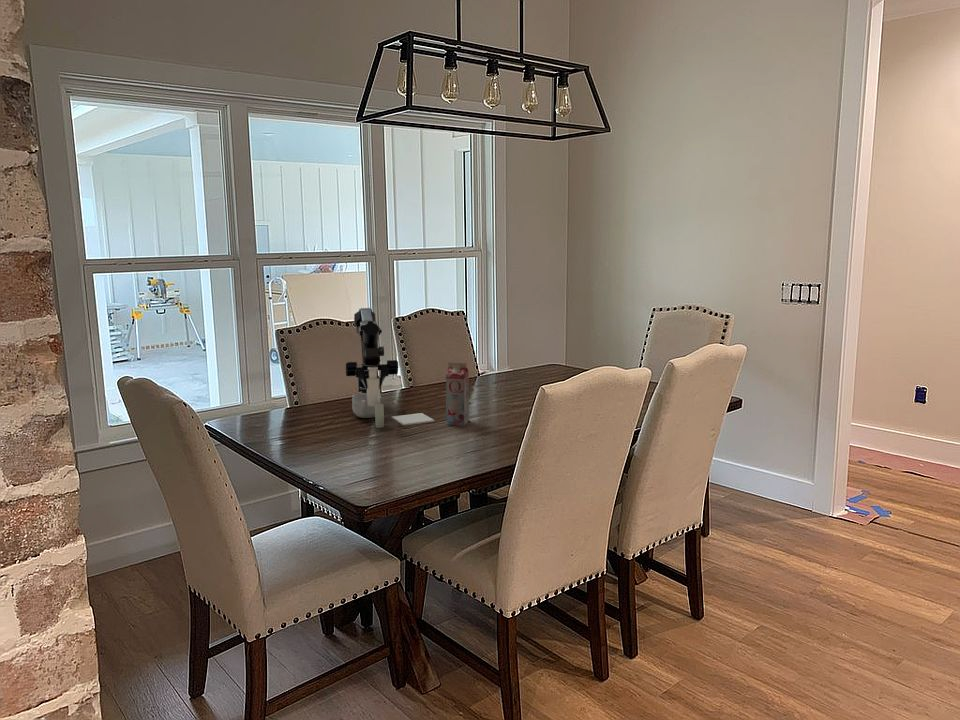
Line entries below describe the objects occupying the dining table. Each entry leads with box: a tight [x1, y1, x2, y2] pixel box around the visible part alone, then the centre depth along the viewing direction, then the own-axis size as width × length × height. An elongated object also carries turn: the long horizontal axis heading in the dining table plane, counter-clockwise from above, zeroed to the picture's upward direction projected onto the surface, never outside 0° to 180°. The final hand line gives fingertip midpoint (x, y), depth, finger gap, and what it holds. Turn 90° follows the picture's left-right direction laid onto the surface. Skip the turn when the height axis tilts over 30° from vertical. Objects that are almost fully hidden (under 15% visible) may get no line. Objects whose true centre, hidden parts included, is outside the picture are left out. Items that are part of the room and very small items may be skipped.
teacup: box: [351, 392, 382, 419], centre depth 283 cm, size 14×11×8 cm
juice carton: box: [445, 362, 470, 426], centre depth 273 cm, size 7×7×22 cm
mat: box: [391, 412, 435, 426], centre depth 279 cm, size 12×12×1 cm
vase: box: [367, 367, 381, 406], centre depth 272 cm, size 5×5×14 cm
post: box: [374, 403, 385, 429], centre depth 269 cm, size 3×3×8 cm
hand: (373, 387), depth 271 cm, fingers closed on vase, 5 cm apart
